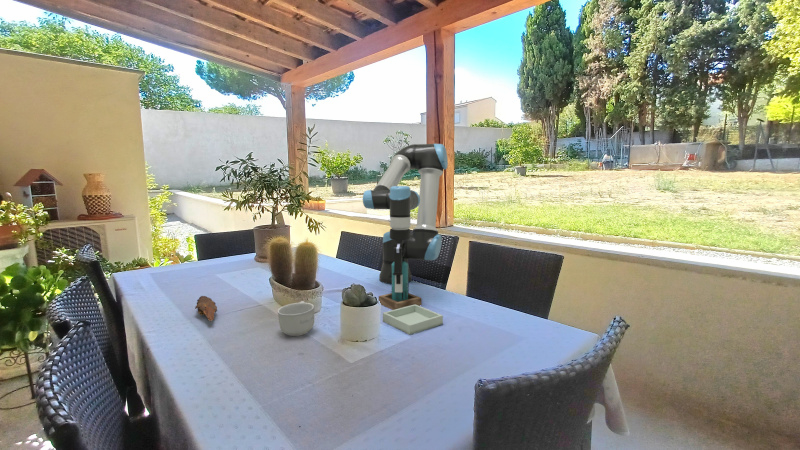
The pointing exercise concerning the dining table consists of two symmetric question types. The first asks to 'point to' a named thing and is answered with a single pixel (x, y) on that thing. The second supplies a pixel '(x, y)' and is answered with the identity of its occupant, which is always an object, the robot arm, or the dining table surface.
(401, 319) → the tray
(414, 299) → the socket block
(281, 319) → the teacup
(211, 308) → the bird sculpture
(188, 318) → the dining table surface
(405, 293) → the beverage bottle
